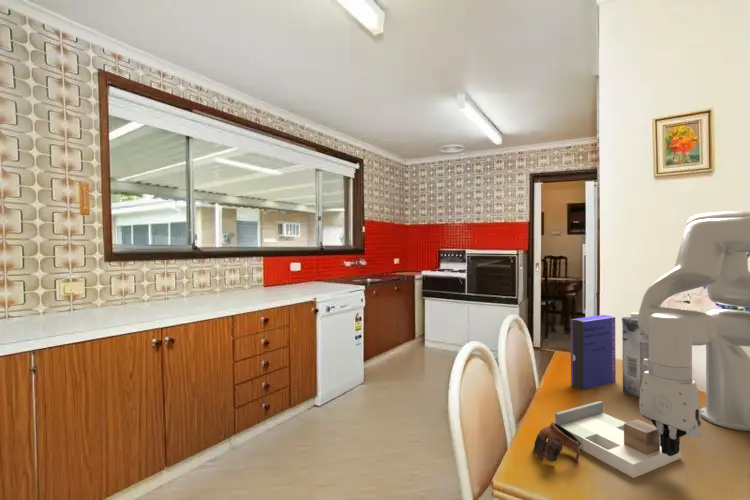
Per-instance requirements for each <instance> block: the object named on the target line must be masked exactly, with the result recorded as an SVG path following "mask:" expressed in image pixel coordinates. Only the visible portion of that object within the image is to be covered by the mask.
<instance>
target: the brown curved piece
mask: <svg viewBox="0 0 750 500" xmlns="http://www.w3.org/2000/svg"><path fill="white" fill-rule="evenodd" d="M535 438H536V439H535V441H534V445H533V452H534V454H535V455H536V456H537V457H538V458H539V460H541V461H543V460H544V457H545V458H546V459H547V460H548V461H550V462H556V461H557V459H558V458H559V457H558V456H559V455H560V454H561V452H562V451H563V445H564V446H566V447H568V448H569V449H572V450H574V451H575V452H576V456H575V460H574V461H575V462H578V461H579V458H580V448H579V445H580V444H581V443H580V441H579V440H578V439H577V438H576V437H575V436H574V435H572V434H571V433H570V432H569V431H567V430H566V429H564V428H563V427H561V426H560V425H558V424H556V423H555V422H551V423H550V425H548V426H545V427H543V428H541V430H539V432H538V434H537V435H536V437H535Z"/></svg>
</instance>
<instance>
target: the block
mask: <svg viewBox="0 0 750 500" xmlns="http://www.w3.org/2000/svg"><path fill="white" fill-rule="evenodd" d="M624 445H626V446H628V447H631V448H633V449H635V450H637V451H639V452H641V453H643V454H645V455H648V454H651V453H653V452H656V451H658V450H660V434H659V433H658V432H657V428H656V427H655V426H654V425H652V424H651V423H650V424H649V423H647V422H645V421H643V420H640V419H633V420H631V421H628V422H626V423H624Z"/></svg>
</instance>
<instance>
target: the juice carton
mask: <svg viewBox="0 0 750 500" xmlns="http://www.w3.org/2000/svg"><path fill="white" fill-rule="evenodd" d="M638 314H639V312H631V313H630V316H623V317H622V318H621V323H622V324H621V325H622V327H621V328H622V331H621V332H622V339H621V340H622V391H623V392H624V393H626V394H628V395H631V396H634V397H637V398H639V399H640V389H641V383H642V379H643V375H644V372H645V371H648V366H647V365H644V364H643V360H644V359H648V336H647V335H645V334H643V333H642V332H641V331H640V329H639V327H638Z"/></svg>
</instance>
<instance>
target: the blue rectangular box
mask: <svg viewBox="0 0 750 500" xmlns="http://www.w3.org/2000/svg"><path fill="white" fill-rule="evenodd" d="M616 358H617V357H616V317H615V316H611V315H608V314H607V315H605V314H600V315H592V316H586V317H579V318H572V319H571V318H570V386H571V387H573V388H575V389H579V390H582V391H586V390H587V391H588V390H591V389H594V388H598V387H602V386H606V385H609V384H610V385H611V384H613V383H616V381H617V380H616V378H617V377H616V372H617V371H616V367H617V365H616Z"/></svg>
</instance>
